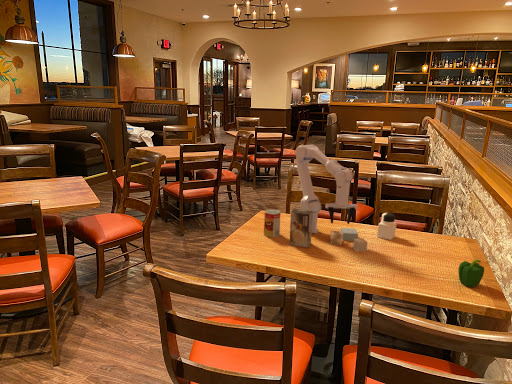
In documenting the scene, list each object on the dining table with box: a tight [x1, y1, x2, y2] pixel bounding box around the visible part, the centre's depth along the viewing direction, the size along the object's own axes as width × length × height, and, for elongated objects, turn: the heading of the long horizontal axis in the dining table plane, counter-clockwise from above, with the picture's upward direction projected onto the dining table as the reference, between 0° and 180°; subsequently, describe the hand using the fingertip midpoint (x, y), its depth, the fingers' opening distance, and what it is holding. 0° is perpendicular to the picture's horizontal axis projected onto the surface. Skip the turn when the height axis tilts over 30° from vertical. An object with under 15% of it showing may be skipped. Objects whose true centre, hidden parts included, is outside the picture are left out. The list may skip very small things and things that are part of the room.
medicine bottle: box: [376, 212, 397, 241], centre depth 185 cm, size 7×7×12 cm
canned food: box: [263, 208, 281, 238], centre depth 184 cm, size 8×8×12 cm
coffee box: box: [289, 208, 312, 248], centre depth 172 cm, size 9×6×16 cm
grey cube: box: [352, 238, 368, 253], centre depth 169 cm, size 4×4×4 cm
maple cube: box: [329, 230, 343, 246], centre depth 177 cm, size 5×5×5 cm
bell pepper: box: [457, 259, 485, 288], centre depth 139 cm, size 8×8×10 cm
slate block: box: [340, 227, 359, 242], centre depth 183 cm, size 7×7×4 cm
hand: (339, 222), depth 176 cm, fingers open, 7 cm apart
